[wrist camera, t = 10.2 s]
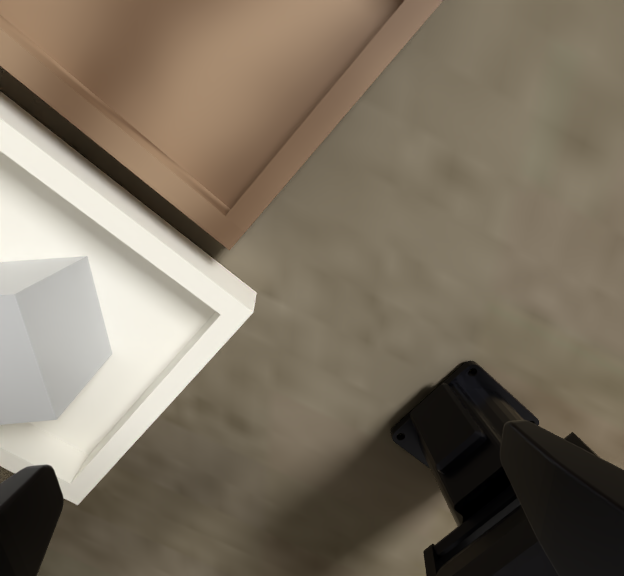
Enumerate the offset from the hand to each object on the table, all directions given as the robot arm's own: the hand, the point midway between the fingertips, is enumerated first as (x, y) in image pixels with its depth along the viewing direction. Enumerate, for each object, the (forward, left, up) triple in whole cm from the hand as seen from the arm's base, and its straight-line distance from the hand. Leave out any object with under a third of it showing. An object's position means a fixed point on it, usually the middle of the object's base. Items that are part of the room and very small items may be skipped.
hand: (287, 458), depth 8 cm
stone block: (+7, +8, -11) cm, 16 cm away
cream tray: (+7, +8, -12) cm, 16 cm away
